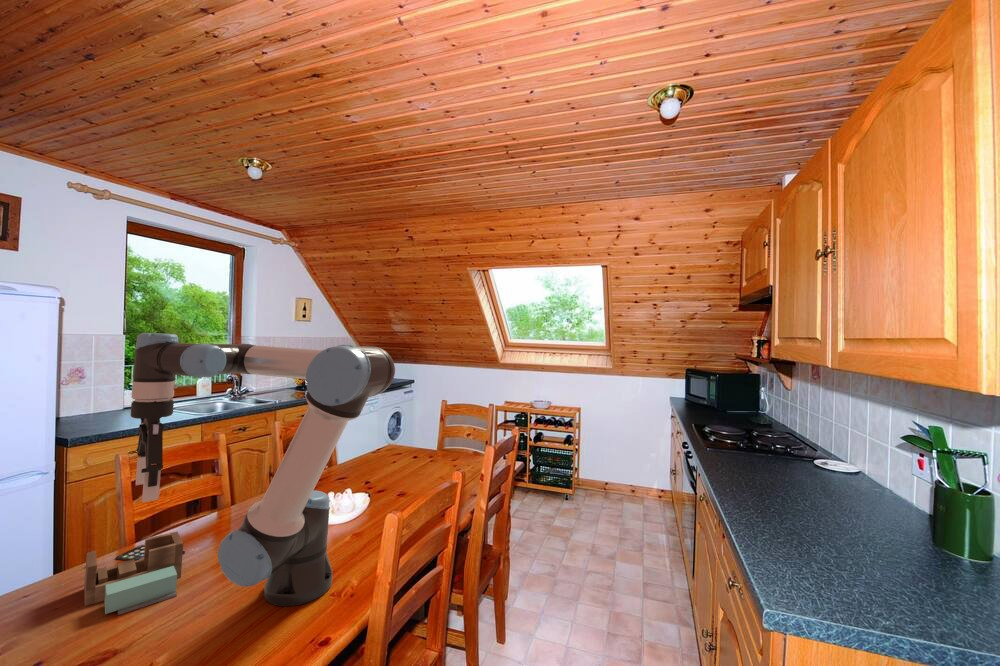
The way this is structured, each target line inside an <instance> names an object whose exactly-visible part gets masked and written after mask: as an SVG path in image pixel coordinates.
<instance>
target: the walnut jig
mask: <svg viewBox="0 0 1000 666" xmlns="http://www.w3.org/2000/svg"><path fill="white" fill-rule="evenodd" d="M144 545H145V550H144V559H141V560H137V561H134V559H133V560H129V561H122V562H119V563H118V562H117V565H115V566H111V567H108V568H107V566H103V567H98V562H97V561H98V559H97V558H98V557H97V550H91V551H88V552H87V553H86V558H85V559H86V560H85V570H84V571H85V573H84V584H83V586H84V587H83V596H84V597H83V598H84V607H87V606H91V605H94V604H96V603H97V604H98V603H99V602H104V599H105V586H106V585H107V584H111V583H114V582H118V581H121V580H125V579H128V578H132V577H135V576H139V575H142V574H146V573H150V572H153V571H157V570H160V569H164V568H167V567H171V566H174V568H175V570H176V573H177V579H179V578H181V577H182V565H183V555H184V554H183V551H184V541H183V540H182V537H181V536H180V534H179V532H178V531H173V532H169V533H164V534H161V535H156V536H152V537H148V538H145V540H144ZM182 554H183V555H182Z"/></svg>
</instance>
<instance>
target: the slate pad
mask: <svg viewBox="0 0 1000 666" xmlns="http://www.w3.org/2000/svg"><path fill="white" fill-rule="evenodd" d="M177 594H178V593H177V591H176V592H173V593H170V594H167V595H164V596H161V597H157V598H154V599H151V600H148V601H145V602H142V603H139V604H136V605H132V606H129V607H126V608H123V609H120V610H117V615H118V616H120V615H122V614H126V613H129V612H133V611H136V610H137V609H138V610H139V609H141V608H145V607H146V606H151V605H153V604H157V603H159V602H162V601H167V600H169V599H172V598H176V597H177Z"/></svg>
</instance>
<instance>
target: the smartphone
mask: <svg viewBox="0 0 1000 666" xmlns="http://www.w3.org/2000/svg"><path fill="white" fill-rule="evenodd" d="M144 550H145V544H143V545H138V546H135V547H133V548H132V549H129V550H126V551H125V552H124V553H123V552H122V553H121V554H119V555H117V556H115V560H118V561H122V562H125V561H129V560H133V559H134V561H137V560H141V559H144ZM185 554H186V551H184V550H183V554H182V556H183V555H185Z"/></svg>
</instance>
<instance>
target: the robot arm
mask: <svg viewBox="0 0 1000 666" xmlns="http://www.w3.org/2000/svg"><path fill="white" fill-rule="evenodd" d="M395 373H396V366H395V361H394V360H393V358H392V356H391V355H390V354H389V353H388V351H386V350H384V349H383V348H381V347H378V346H374V345H351V344H340V345H337V346H331V347H327V348H325V349H308V348H297V347H282V346H269V345H268V346H267V345H256V344H250V343H239V344H238V343H237V344H236V343H232V344H231V343H227V344H226V343H202V342H201V343H189V342H188V343H186V342H184V343H183V342H180V341H179V336H178V335H177V334H175V333H162V332H161V333H159V332H157V333H156V332H142V333H139V334H138V335H137V337H136V343H135V348H134V365H133V381H132V384H131V385H132V387H131V397H130V398H131V399H132V402H131V405H130V417H131V418H133V419H138V420H139V419H140V423H139V425H138V428H139V429H138V431H139V434H138V441H137V448H136V451H137V454H136V455H137V459H136V474H135V486H140V485H141V486H142V485H143V486H142V496H141V497H142V498H141V502H142V503H147V502H152V501H156V500H157V501H158V500H159V498H160V488H161V487H160V486H161V474H162V470H163V468H164V463H163V462H164V460H163V459H164V458H163V453H164V452H163V449H164V448H163V445H164V444H163V438H164V437H163V435H164V433H163V432H164V430H165V429H164V424H163V423H162V422H161V418H167V417H170V416H172V415H173V413H174V406H175V405H174V403H175V401H174V399H172V398H173V397H174V396H175V389H177V388H178V384H176V376H183V377H194V378H199V379H200V378H212V377H213V378H214V377H216V376H218V375H229V374H241V375H257V376H266V377H267V376H268V377H279V378H290V379H300V380H305V382H306V384H307V385H306V390H307V392H306V394H305V396H304V397H305V400H306V403H307V404H308V408H307V410H306V411H305V413H304V416H303V418H302V419H301V421H300V423H299V425H298V427H297V429H296V432H295V433H294V435H293V438H292V440H291V441H290V443H289V445H288V448H287V450H286V451H285V453H284V455H283V457H282V460H281V461H280V464H278V465H279V466H278V467H277V470H276V472H275V474H274V475H273V477H272V479H271V482H270V483H269V486H268V487H267V489H266V491H265V493H264V496H263V497H262V499H261V500H259V501H258V500H257V501H256V502H254V503H253V504H252V505H251V506H250V507H249V508H248V510H247V513H246V514H245V516H244V519H243V520H242V523H241V524H240V526H239V527H238V528H237V529H235V530H232V531H230V532H229V533H228V534H227V535H225V537H223V539H222V540H221V542H220V543H219V546H218V549H217V559H218V561H217V562H218V564H219V565H220V571H221V572H222V573H223V574H224V576H225V577H226V578H227V580H229V581H230V582H231V583H232V584H235V586H239V587H245V588H246V587H247V588H248V587H252V586H256V585H257V584H260V583H261V582H263V581H264V580H266V581H265V583H264V590H263V591H264V593H263V597H264V599H265V600H266V602H268V603H269V604H270V605H273V606H280V607H292V606H300V605H304V604H306V603H307V604H308V603H310V602H312V601H314V600H316V599H318V598H320V597H322V596H323V595H324V594H326V593H327V592H328V591H329V590H330V588H331V586H332V583H333V569H332V568H333V567H332V565H331V563H330V558H329V556H328V552H327V548H328V536H329V535H328V534H329V520H330V517H329V516H330V510H331V507H330V496H329V495H328V494H327V493H325V492H323V491H321V490H315V487H316V486H317V484H318V482H319V480H320V478H321V476H322V474H323V472H324V470H325V468H326V466H327V464H328V462H329V460H330V458H331V456H332V455H333V452H334V450H335V448H336V446H337V445H338V443H339V440H340V439H341V436H342V435H343V433H344V430H345V429H346V426H347V425H348V423H349V421H352V420H356V419H358V418H359V416H360V415H361V413H362V411H363V409H364V408H365V406H366V403H367V401H368V399H369V398H371V397H374V396H377V395H380V394H382V393H383V392H385V391H386V390H387V389H388V388H389V387H390V386H391V384H392V383H393V381H394V378H395Z"/></svg>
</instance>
